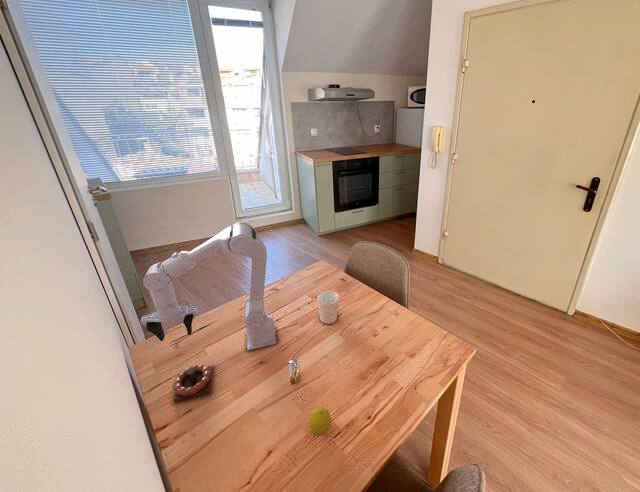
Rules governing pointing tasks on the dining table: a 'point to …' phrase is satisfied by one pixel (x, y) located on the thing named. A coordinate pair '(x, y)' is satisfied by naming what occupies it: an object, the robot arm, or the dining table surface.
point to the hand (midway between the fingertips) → (176, 335)
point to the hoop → (194, 389)
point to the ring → (295, 364)
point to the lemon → (320, 421)
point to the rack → (191, 381)
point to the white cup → (328, 306)
